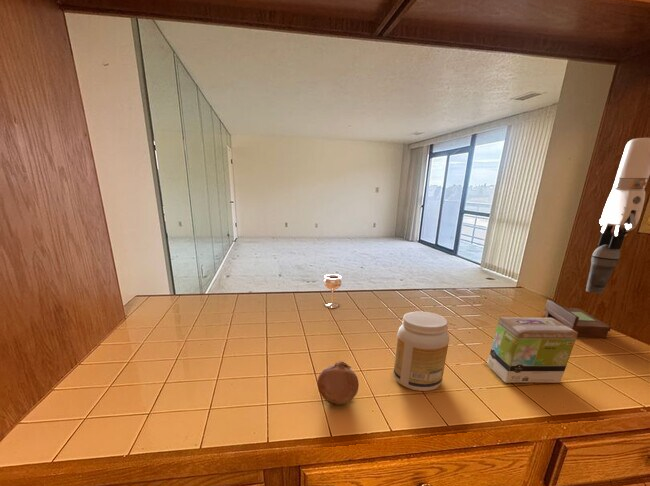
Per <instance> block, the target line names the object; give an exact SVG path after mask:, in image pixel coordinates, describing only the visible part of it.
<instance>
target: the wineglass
mask: <svg viewBox="0 0 650 486" xmlns="http://www.w3.org/2000/svg"><path fill="white" fill-rule="evenodd" d="M324 278H325V279H324V280H323V282H324V286H325V287H326V289H328V290H330V291H331V303H327V304H325V306H326V307H327V308H329V309H336V308H338V307H339V304H336V303H334V293H335V290H338V289H339V288H340V287H341V285H342V276H341V275H339V274H335V273H334V274H331V273H330V274H326V275H324Z"/></svg>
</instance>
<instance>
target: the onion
mask: <svg viewBox="0 0 650 486" xmlns="http://www.w3.org/2000/svg"><path fill="white" fill-rule="evenodd" d="M316 381H317V382H316V383H317V390H318V392H319V393H320V395H321V397H322V398H323V399H324V401H325V402H326V403H328V404H331V405H332V406H341V405H342V406H344V405H345V404H347V403H351V402H352V401H353V400H354V398H355V397H356V395H357V394H358V391H359V385H360V384H359V383H360V382H359V378H358V376H357V374H356V372H355V371H354V370H353V369H352V367H351V366H350V365H349V364H347V362H344V361H339V362H335V363H334V364H331V365H328V366H327V367H324V368H323V369H322V370H321V372H319V374H318V377H317V380H316Z"/></svg>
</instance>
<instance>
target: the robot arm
mask: <svg viewBox="0 0 650 486" xmlns="http://www.w3.org/2000/svg"><path fill="white" fill-rule="evenodd" d="M649 178H650V137H636V138H632V139H630V140H629V141H627V143H626V144H625V147H624V150H623V154H622V156H621V159H620V162H619V165H618V169H617V172H616V175H615V179H614V182H613V185H612V188H611V191H610V193H609V195H608V197H607V200H606V203H605V205H604V207H603V210H602V214H601V217H600V219H599V222H598V223H599V224H600V227H601V230H600V233H601V234H600V236H599V237H600V238H599V240H598V242H597V246H598V247H600V246H602V245H605V244H609V249H619V250H620V249H621V247H622V245H623V242H624V239H625V237H627V236H628V233H630V232H631V231H632V230H634V229H636V228H637V225H638V224H639V221H640V219H641V215H642V212H643V209H644V205H645V201H646V190H645V189H646V187H647V185H648V182H649Z"/></svg>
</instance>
